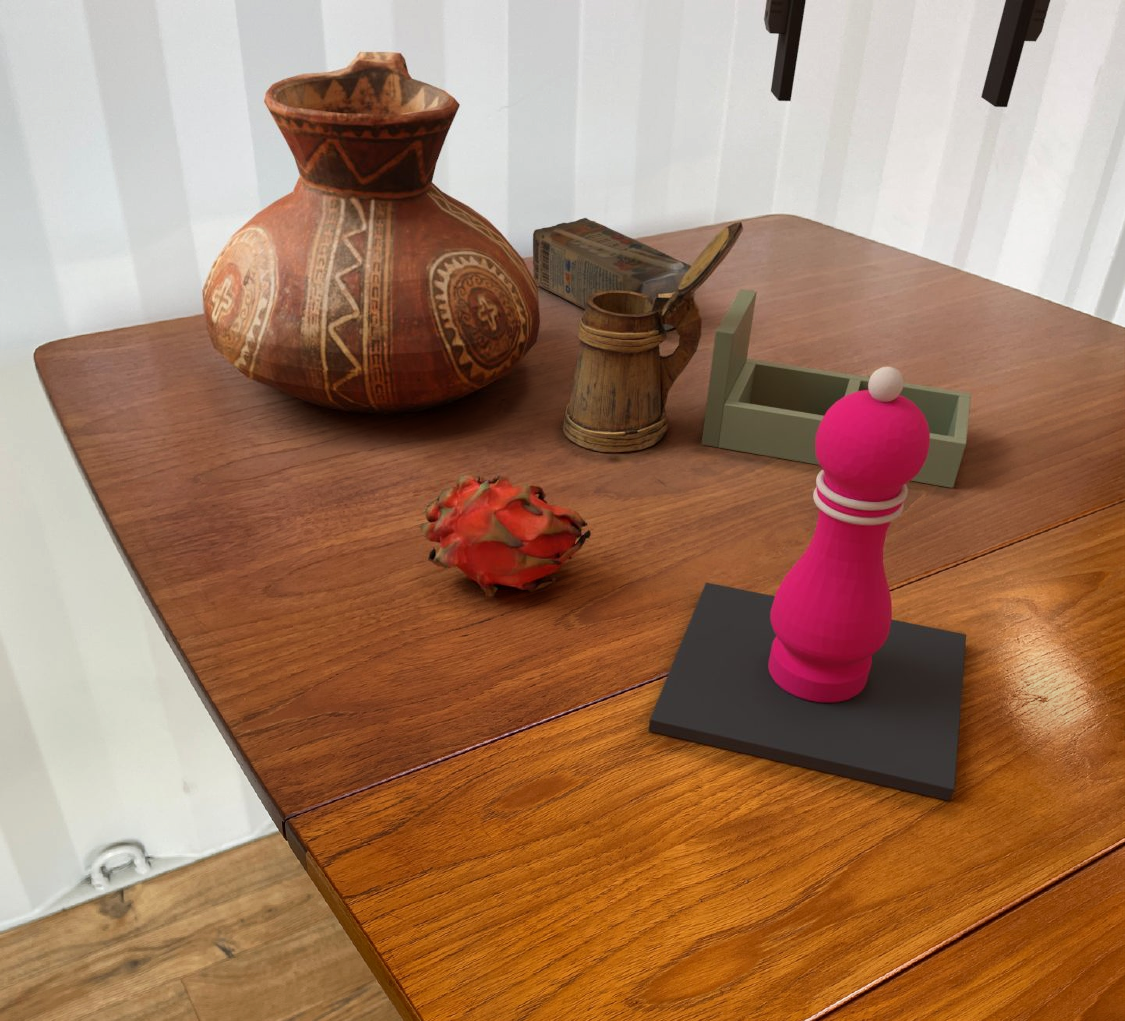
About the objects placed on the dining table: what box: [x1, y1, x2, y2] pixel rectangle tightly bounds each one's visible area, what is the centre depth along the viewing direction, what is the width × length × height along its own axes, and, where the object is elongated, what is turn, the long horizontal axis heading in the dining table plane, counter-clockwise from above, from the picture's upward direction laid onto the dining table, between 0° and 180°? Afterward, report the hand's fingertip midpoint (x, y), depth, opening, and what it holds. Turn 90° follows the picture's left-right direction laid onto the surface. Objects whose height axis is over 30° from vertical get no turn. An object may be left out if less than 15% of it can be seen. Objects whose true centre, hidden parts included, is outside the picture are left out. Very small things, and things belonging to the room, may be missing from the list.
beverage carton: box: [532, 217, 696, 332], centre depth 117 cm, size 8×19×7 cm, turn 37°
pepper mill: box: [768, 365, 930, 703], centre depth 63 cm, size 7×7×20 cm
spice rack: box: [701, 288, 972, 489], centre depth 93 cm, size 22×10×10 cm, turn 72°
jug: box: [201, 51, 541, 415], centre depth 95 cm, size 30×30×25 cm
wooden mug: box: [562, 221, 744, 453], centre depth 90 cm, size 9×14×18 cm, turn 82°
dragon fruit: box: [419, 473, 591, 597], centre depth 76 cm, size 8×8×12 cm
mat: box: [648, 582, 967, 802], centre depth 70 cm, size 18×16×1 cm
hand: (887, 100), depth 68 cm, fingers open, 13 cm apart
